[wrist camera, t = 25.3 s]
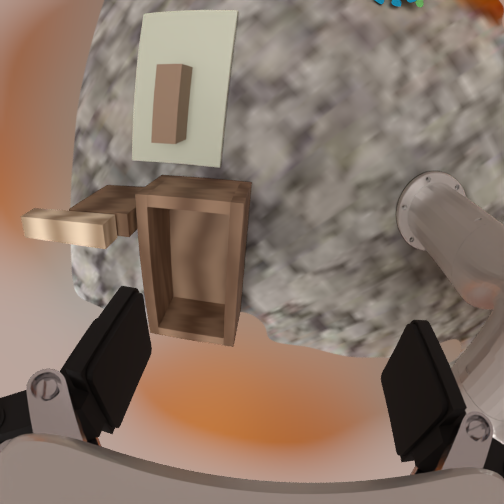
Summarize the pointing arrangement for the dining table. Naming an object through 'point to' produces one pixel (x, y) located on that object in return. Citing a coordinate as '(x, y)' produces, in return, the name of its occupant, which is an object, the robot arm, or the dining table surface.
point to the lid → (183, 86)
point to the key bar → (70, 227)
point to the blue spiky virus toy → (397, 2)
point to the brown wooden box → (185, 250)
